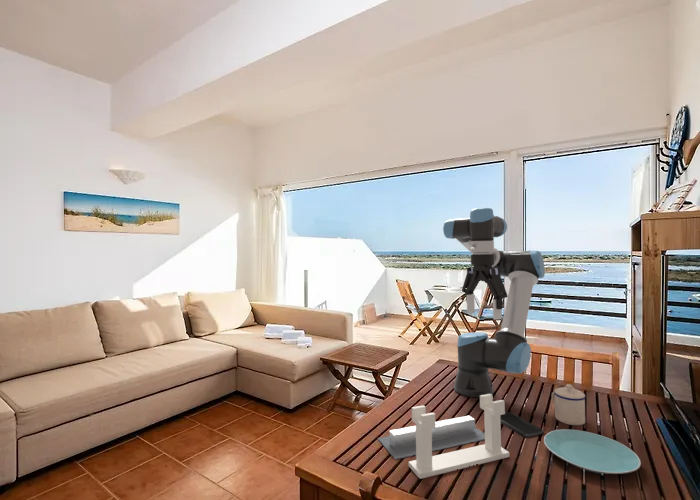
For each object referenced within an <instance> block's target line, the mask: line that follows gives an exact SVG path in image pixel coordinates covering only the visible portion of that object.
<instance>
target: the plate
mask: <svg viewBox="0 0 700 500" xmlns="http://www.w3.org/2000/svg"><path fill="white" fill-rule="evenodd" d="M543 443H544V446H545V447H546V448H547V449H548V450H549V451H550V452H551V453H552V454H553V455H555V456H556V457H558V458H559V459H562V460H563V461H565V462H567V463H568V464H571V465H573V466H574V467H576V468H579V469H581V470H584V471H587V472H592V473H594V474H595V473H596V474H603V475H611V474H612V475H623V474H629V473H633V472H636V471H637V470H639V469H640V467H641V464H642V463H641V458H639V456H638V454H637V453H635V452H634V450H632V449H631V448H630V447H628V446H626V445H625V444H623V443H622V442H619V441H617V440H615V439H612V438H609V437H607V436H604V435H602V434H601V435H600V434H597V433H594V432H589V431H585V430H579V429H567V428H566V429H555V430H551V431H550V432H547V433H546V434H545V435H544V438H543Z"/></svg>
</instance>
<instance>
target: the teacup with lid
mask: <svg viewBox="0 0 700 500" xmlns="http://www.w3.org/2000/svg"><path fill="white" fill-rule="evenodd" d="M586 398H587V397H586V394H585V393H584V392H583V391H581V390H579V389H577V388H575V387H574V386H573V384H571V383H570V384H568V383H567V384H565V386H562V387H558V388H555V389H554V391H553V392H551V400H552V403H553V404H554V412H555V413H554V415H555V419H556V420H557V421H559V422H560V423H563V424H565V425H568V426H569V425H570V426H582V425H585V423H586V400H585V399H586Z"/></svg>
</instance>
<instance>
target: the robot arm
mask: <svg viewBox="0 0 700 500" xmlns="http://www.w3.org/2000/svg"><path fill="white" fill-rule="evenodd" d="M507 229H508V224H507V222H506V220H505V219H504V218H502V217H500V216H497V215H496V216H495V215H494V210H493V208H490V207H477V208H473V209H471V210H470V213H469V217H467V218H463V217H462V218H452V219H447V220H446V221H445V222H444V223H443V227H442V230H443V235H444V237H445V238H446V239H450V240H451V239H452V240H454V239H456V241H458V242H459V243H460V244H461V245H463V247H465V249H467V250H468V251H469V252H470V253H471V255H470V265H472V266H468V267H467V268H466V275H465V278H464V282H463V286H462V288H461V291H462V293H465V296H466V297H465V302H466V313H467V314H475V311H476V309H475V308H476V307H475V304H476V303H475V293H474V291H475V290H476V288H477V286H478V284H479V283H480V282H484V283H485V284H486V285H487V286H488V288H489V291H490V292H491V294H492V296H493V297H494V298H493V299H492V309H493V310H492V314H493V315H492V317H493V318H492V319H493V320H497V321H498V320H502V321H501V327H500V330H498V331H496V332H495V334H494V338H491V337H489V335H488V333H487V332H481V331H477V332H476V331H475V332H466V333H462V334H460V335H459V336H458V338H457V345H456V346H457V364H458V365H457V366H458V367H457V368H458V370H457V373H456V376H455V380H454V383H453V385H454V386H453V389H454V391H455V392H456V393H458V394H460V395H463V396H466V397H472V398H480V395H485V394H492V395H493V394H494V386H493V383H492V379H491V377H490V374H489V369H492V370H497V371H501V372H506V373H508V374H509V373H510V374H519V375H520V374H522V373H524V372H525V371H526V370H527V368H528V367H529V364H530V362H531V355H532V354H531V353H532V349H531V345H530V344H529V343H528V340H527V338H526V336H525V331H526V326H527V320H528V317H529V316H528V315H529V311H530V310H529V309H530V303H531V299H532V294H533V288H534V287H533V286H535V285H537V284H538V282H539V279H542V278H545V274H546V273H545V272H546V271H545V269H546V268H545V262H544V261H545V260H544V258H543V254H542V253H541V251H539V250H531V249H529V250H498V249H497V248H495V241H494V240H495V238H499V237H502V236H503V235H505V233H506V232H507ZM502 277H504V278H505V277H506V278H508V279H509V281H510V285H509V291H508V293H507V290H506V287H505V285H504V281H503V279H502ZM503 299H506V303H505V309H504V313H503V316H502V310H503Z"/></svg>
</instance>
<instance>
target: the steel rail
mask: <svg viewBox="0 0 700 500" xmlns="http://www.w3.org/2000/svg"><path fill="white" fill-rule="evenodd" d="M435 424H436V428H432V441H436V440H440V439H445V438H450V437H455V436H459V435H464V434H469V433H473V432H475V427H476V419H475V418H474V417H472V416H471V415H465V416H459V417H453V418H448V419H443V420H438V421H435ZM389 436H390V445H391V446H392V447H393V448H394V449H398V448H403V447H407V446H412V445H416V425H413V426H407V427H400V428H397V429H390V430H389Z"/></svg>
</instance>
